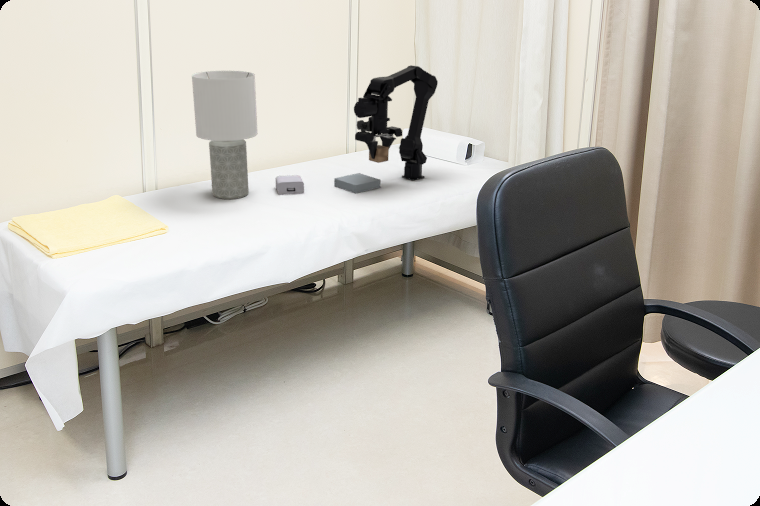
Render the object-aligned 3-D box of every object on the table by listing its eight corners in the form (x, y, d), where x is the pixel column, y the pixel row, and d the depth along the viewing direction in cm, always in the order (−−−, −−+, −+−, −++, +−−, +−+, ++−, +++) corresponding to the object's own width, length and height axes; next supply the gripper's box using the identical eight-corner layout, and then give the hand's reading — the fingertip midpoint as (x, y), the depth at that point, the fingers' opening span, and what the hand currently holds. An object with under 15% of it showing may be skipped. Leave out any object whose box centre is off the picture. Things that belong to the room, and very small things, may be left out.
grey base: (359, 180, 281) (359, 172, 280) (380, 187, 273) (380, 179, 272) (334, 186, 274) (334, 178, 273) (355, 193, 266) (355, 185, 265)
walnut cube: (378, 158, 272) (379, 144, 271) (388, 160, 269) (388, 147, 267) (368, 160, 269) (369, 146, 267) (378, 162, 266) (378, 149, 264)
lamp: (238, 183, 276) (232, 69, 261) (271, 195, 262) (267, 75, 247) (189, 193, 262) (179, 74, 247) (222, 206, 249) (214, 81, 234)
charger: (298, 182, 278) (304, 194, 265) (274, 183, 276) (278, 195, 263) (298, 170, 277) (303, 181, 263) (273, 171, 275) (277, 182, 261)
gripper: (382, 108, 275) (381, 150, 280) (344, 114, 263) (344, 157, 268) (404, 113, 267) (402, 155, 273) (366, 118, 255) (365, 163, 261)
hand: (378, 157), depth 269 cm, fingers closed on walnut cube, 5 cm apart
